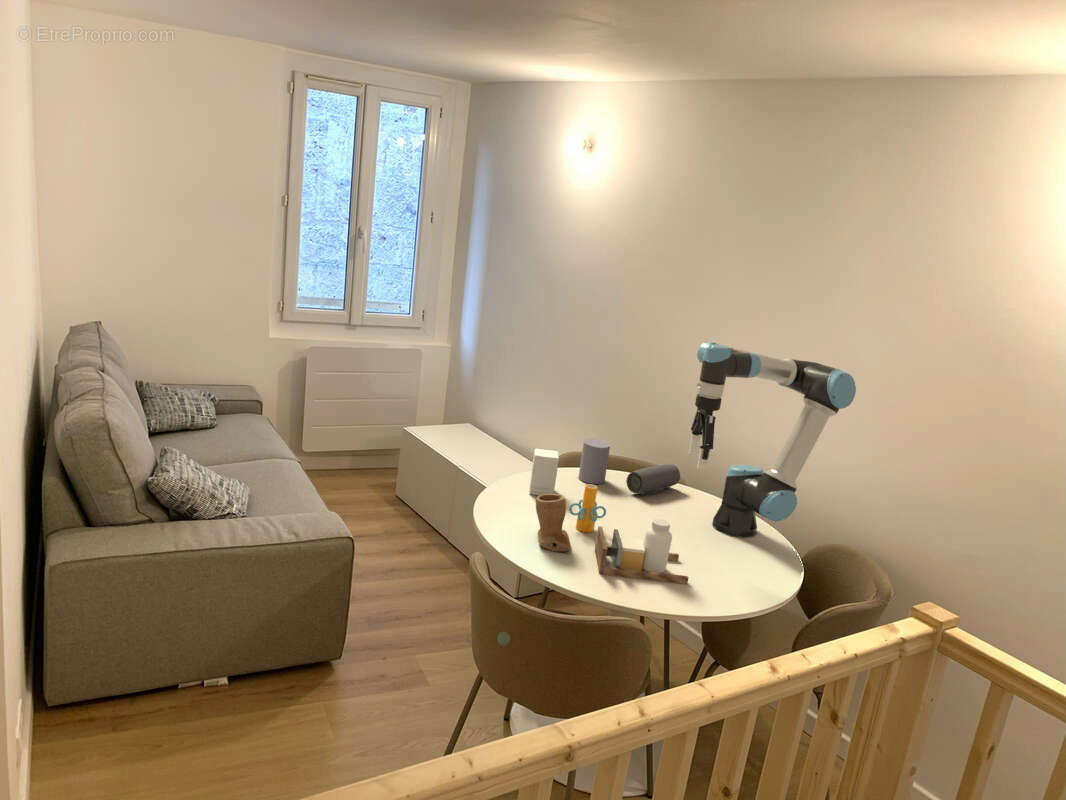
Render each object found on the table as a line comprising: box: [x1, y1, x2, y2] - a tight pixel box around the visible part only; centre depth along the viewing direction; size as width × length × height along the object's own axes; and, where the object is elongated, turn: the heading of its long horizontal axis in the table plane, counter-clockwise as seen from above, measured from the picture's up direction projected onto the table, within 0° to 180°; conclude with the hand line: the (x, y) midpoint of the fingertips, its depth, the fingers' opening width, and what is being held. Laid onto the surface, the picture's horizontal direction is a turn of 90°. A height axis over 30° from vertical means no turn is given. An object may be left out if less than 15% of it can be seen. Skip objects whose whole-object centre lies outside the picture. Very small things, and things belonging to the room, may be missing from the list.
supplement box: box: [528, 448, 560, 496], centre depth 290 cm, size 9×9×15 cm
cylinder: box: [568, 483, 607, 533], centre depth 261 cm, size 12×10×15 cm
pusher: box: [609, 528, 623, 568], centre depth 239 cm, size 1×13×8 cm, turn 0°
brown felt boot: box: [535, 493, 572, 552], centre depth 247 cm, size 15×12×15 cm
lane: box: [594, 526, 689, 585], centre depth 239 cm, size 26×16×8 cm, turn 90°
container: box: [578, 438, 611, 485], centre depth 310 cm, size 10×10×15 cm
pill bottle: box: [641, 518, 673, 573], centre depth 239 cm, size 8×8×15 cm
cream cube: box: [620, 537, 645, 571], centre depth 239 cm, size 7×7×7 cm
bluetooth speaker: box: [625, 463, 681, 495], centre depth 307 cm, size 23×9×10 cm, turn 133°
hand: (697, 461), depth 247 cm, fingers open, 13 cm apart
